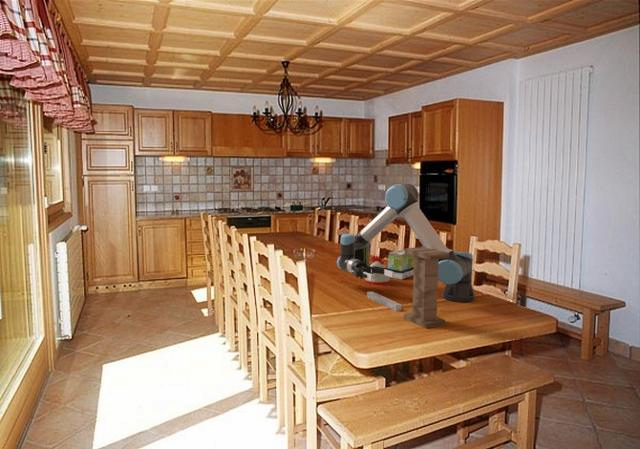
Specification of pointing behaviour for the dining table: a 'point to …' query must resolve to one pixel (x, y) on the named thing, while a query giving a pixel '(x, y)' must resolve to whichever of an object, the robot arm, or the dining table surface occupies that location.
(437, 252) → the walnut pedestal
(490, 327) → the dining table surface
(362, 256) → the electrical component
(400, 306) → the aluminium bar
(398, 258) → the tea box
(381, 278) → the kitchen timer
